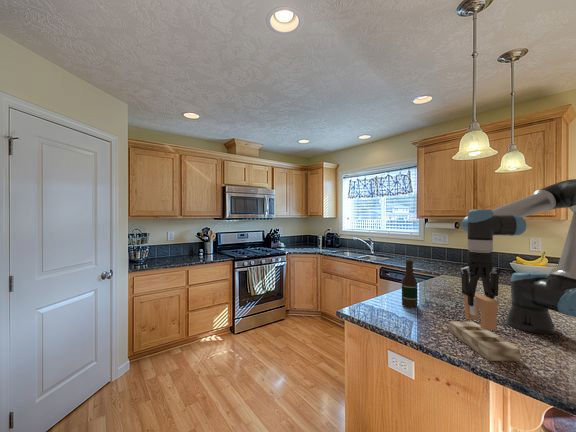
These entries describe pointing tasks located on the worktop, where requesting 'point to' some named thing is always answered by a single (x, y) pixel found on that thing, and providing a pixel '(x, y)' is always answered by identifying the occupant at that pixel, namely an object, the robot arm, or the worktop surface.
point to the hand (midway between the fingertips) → (479, 314)
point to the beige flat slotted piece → (485, 342)
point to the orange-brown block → (483, 311)
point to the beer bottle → (409, 287)
